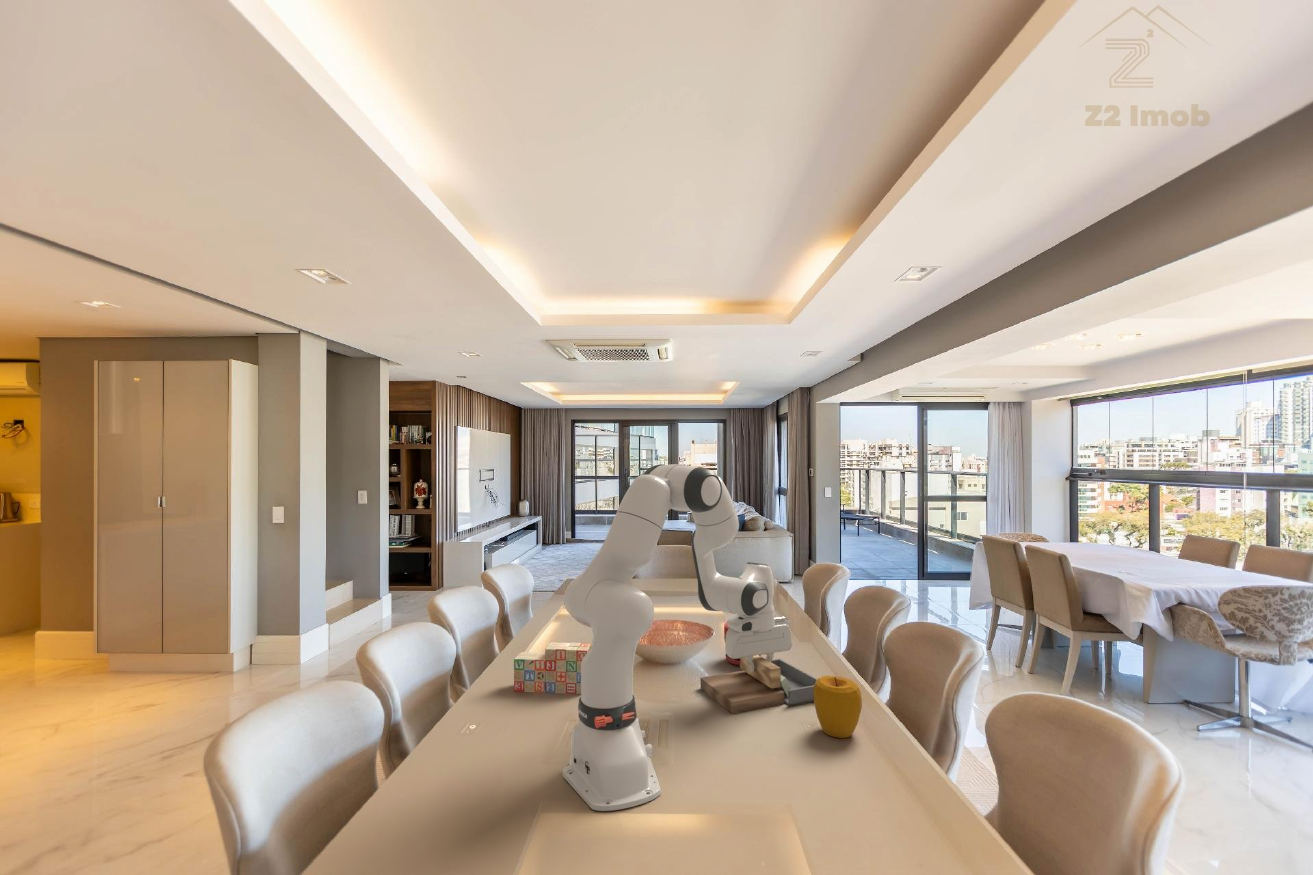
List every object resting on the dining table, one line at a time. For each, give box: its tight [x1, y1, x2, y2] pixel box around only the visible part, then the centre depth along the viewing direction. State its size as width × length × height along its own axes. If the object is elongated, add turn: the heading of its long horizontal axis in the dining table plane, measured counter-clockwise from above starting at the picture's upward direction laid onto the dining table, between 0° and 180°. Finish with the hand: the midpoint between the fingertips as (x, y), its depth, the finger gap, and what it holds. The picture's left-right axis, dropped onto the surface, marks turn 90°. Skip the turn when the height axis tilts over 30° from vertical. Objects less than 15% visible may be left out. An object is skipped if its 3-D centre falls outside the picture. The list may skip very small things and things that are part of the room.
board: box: [700, 670, 786, 715], centre depth 153 cm, size 18×16×3 cm
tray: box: [771, 658, 818, 707], centre depth 158 cm, size 22×12×4 cm, turn 22°
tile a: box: [777, 675, 791, 697], centre depth 152 cm, size 5×5×2 cm
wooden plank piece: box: [739, 655, 782, 688], centre depth 156 cm, size 16×3×5 cm, turn 22°
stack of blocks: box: [513, 642, 592, 695], centre depth 159 cm, size 21×6×12 cm, turn 85°
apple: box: [813, 675, 863, 739], centre depth 131 cm, size 11×11×13 cm
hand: (759, 669), depth 156 cm, fingers closed on wooden plank piece, 3 cm apart
